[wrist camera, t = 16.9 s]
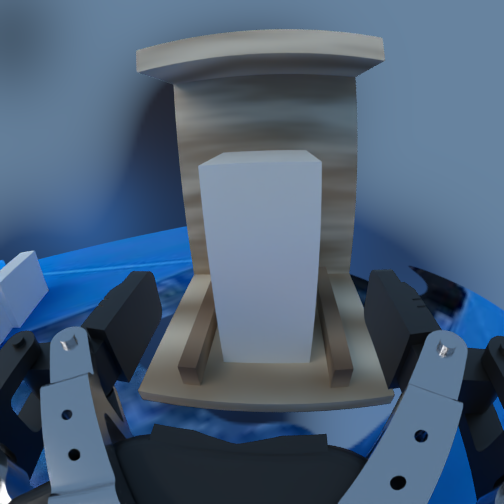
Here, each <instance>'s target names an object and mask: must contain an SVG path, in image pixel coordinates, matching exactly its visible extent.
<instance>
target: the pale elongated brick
mask: <svg viewBox="0 0 504 504" xmlns="http://www.w3.org/2000/svg"><path fill="white" fill-rule="evenodd" d="M198 170H199V180H200V190H201V200H202V210H203V219H204V227H205V236H206V244H207V252H208V260H209V268H210V275H211V282H212V290H213V297H214V303H215V310H216V317H217V323H218V330H219V336H220V342H221V348H222V354H223V360H224V362H236V363H310V356H311V347H312V338H313V329H314V319H315V308H316V296H317V283H318V268H319V251H320V229H321V193H322V162H321V161H320V160H319V159H317V158H316V157H315V156H313V155H312V154H311V153H309V152H308V151H307V150H266V151H241V152H225V153H222V154H220V155H218V156H216V157H214V158H212V159H210V160H208V161H206V162H205V163H203V164H201V165H199V166H198Z"/></svg>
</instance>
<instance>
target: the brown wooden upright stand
mask: <svg viewBox="0 0 504 504" xmlns="http://www.w3.org/2000/svg"><path fill="white" fill-rule="evenodd" d="M136 54H137V55H136V56H137V59H136V60H137V73H141V74H144V75H147V76H150V77H154V78H156V79H160V80H162V81H165V82H168V83H171V84H174V97H175V113H176V127H177V139H178V151H179V161H180V170H181V180H182V189H183V198H184V205H185V214H186V221H187V229H188V236H189V243H190V250H191V256H192V263H193V269H194V276H193V278H192V280H191V282H190V284H189V286H188V288H187V290H186V292H185V294H184V296H183V298H182V300H181V302H180V304H179V306H178V308H177V310H176V312H175V314H174V316H173V318H172V320H171V322H170V324H169V326H168V328H167V330H166V332H165V334H164V336H163V339H162V340H161V342H160V345H159V347H158V349H157V351H156V353H155V355H154V357H153V359H152V362H151V364H150V366H149V368H148V370H147V372H146V374H145V377H144V379H143V381H142V383H141V385H140V388H139V390H138V392H139V394H140V396H141V397H142V399H145V400H151V401H156V402H162V403H168V404H175V405H182V406H189V407H198V408H207V409H219V410H231V411H250V412H310V411H328V410H340V409H352V408H360V407H368V406H376V405H383V404H389V403H391V401H392V399H393V397H394V391H393V389H388V387H387V384H386V381H385V378H384V375H383V372H382V369H381V366H380V363H379V360H378V357H377V354H376V351H375V348H374V345H373V343H372V340H371V337H370V334H369V332H368V329H367V326H366V324H365V320H364V308H363V305H362V303H361V300H360V298H359V295H358V293H357V290H356V288H355V286H354V283H353V281H352V279H351V276H350V274H349V270H350V261H351V252H352V242H353V231H354V218H355V203H356V183H357V182H356V181H357V100H356V80H355V77H357V76H358V75H360V74H362V73H363V72H365V71H367V70H369V69H370V68H372V67H374V66H376V65H378V64H380V63H382V62H383V61H385V56H384V47H383V39H382V38H380V37H375V36H368V35H362V34H354V33H345V32H335V31H323V30H299V29H275V30H253V31H239V32H230V33H229V32H228V33H220V34H212V35H206V36H199V37H193V38H188V39H182V40H178V41H172V42H168V43H164V44H159V45H155V46H151V47H147V48H144V49H140V50H137V51H136ZM266 150H307V151H308V152H309V153H311V154H312V155H313V156H315V157H316V158H317V159H319V160H320V161H321V162H322V193H321V229H320V251H319V268H318V283H317V296H316V308H315V319H314V329H313V338H312V347H311V356H310V363H236V362H224V360H223V354H222V348H221V342H220V336H219V330H218V323H217V317H216V310H215V303H214V297H213V290H212V282H211V275H210V268H209V260H208V252H207V244H206V236H205V227H204V219H203V210H202V200H201V190H200V180H199V170H198V166H199V165H201V164H203V163H205V162H206V161H208V160H210V159H212V158H214V157H216V156H218V155H220V154H222V153H225V152H241V151H266Z"/></svg>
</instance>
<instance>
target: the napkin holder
mask: <svg viewBox="0 0 504 504" xmlns="http://www.w3.org/2000/svg"><path fill="white" fill-rule="evenodd" d="M48 291H49V290H48V287H47V285H46V282H45V279H44V277H43V274H42V271H41V268H40V265H39V262H38V259H37V256H36V253H35V251H28V252H22V253H20V254H19V255H18V256H17V257H15V258H14V259H13V260H12V261H10V262H9V263H8V264H7V265H6V266H5V267H4V268H2V269H1V270H0V345H1V343H2V342H3V340H4V339H5V338H6V336H7V335H8V333H9V332H10V331H11V329H12V328H20V327H21V326H22V324H23V323H24V322H25V320H26V319H27V318H28V316H29V315H30V314H31V312H32V311H33V310H34V308H35V307H36V306H37V305H38V303H39V302H40V301H41V300H42V298H43V297H44V296H45V295H46V293H47V292H48Z"/></svg>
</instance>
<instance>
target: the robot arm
mask: <svg viewBox="0 0 504 504" xmlns="http://www.w3.org/2000/svg"><path fill="white" fill-rule="evenodd" d="M98 305H99V306H97V307H96V308H95V309H94V311H93V312H92V313H91V314H90V315H89V317H88V318H87V319H86V320H85V322H84V323H83V324H82V325H81V327H69V328H66V329H64V330H62V331H60V332H59V333H57V334H56V335H55V336H54V338H53V339H52V341H51V342H48V343H38V341H37V340H36V338H35V336H34V334H33V333H32V332H31V331H21V332H19V333H17V334H15V335H13V336H12V337H11V338H10V339H9V340H8V341H7V342H6V344H5V345H4V346H3V347H2V349H1V350H0V504H427V503H428V501H429V499H430V497H431V495H432V493H433V491H434V489H435V487H436V484H437V482H438V480H439V477H440V475H441V473H442V470H443V468H444V465H445V463H446V460H447V457H448V455H449V452H450V449H451V446H452V443H453V440H454V437H455V434H456V431H457V427H458V426H459V429H460V432H461V436H462V439H463V442H464V446H465V449H466V453H467V457H468V461H469V465H470V469H471V473H472V478H473V482H474V487H475V492H476V498H477V502H476V504H504V431H503V428H502V426H501V423H500V420H499V418H498V415H497V413H496V411H495V408H494V406H493V402H494V401H495V400H496V398H497V397H499V400H500V402H501V404H502V406H503V409H504V336H496V337H493V338H492V339H491V340H490V341H489V343H488V345H487V347H486V349H475V348H467V345H466V343H465V342H464V340H463V339H462V338H461V337H460V336H458V335H457V334H455V333H453V332H450V331H446V330H441V328H440V326H439V325H438V323H437V322H436V320H435V319H434V317H433V316H432V314H431V312H430V311H429V309H428V308H427V307H426V305H425V303H424V302H423V301H422V300H421V298H420V296H419V295H418V293H417V292H416V290H415V289H413V288H412V287H411V286H409V285H408V284H407V283H405V282H400V280H399V279H398V277H397V276H396V274H395V273H394V271H393V270H391V269H390V270H372V271H371V273H370V277H369V283H368V289H367V294H366V300H365V305H364V320H365V324H366V326H367V329H368V332H369V334H370V337H371V340H372V343H373V345H374V348H375V351H376V354H377V357H378V360H379V363H380V366H381V369H382V372H383V375H384V378H385V381H386V384H387V387H388V389H394V388H400V389H401V392H402V394H401V395H400V397H399V399H398V401H397V403H396V405H395V407H394V409H393V411H392V413H391V415H390V417H389V419H388V420H387V422H386V424H385V426H384V428H383V430H382V431H381V433H380V435H379V436H378V438H377V440H376V442H375V443H374V445H373V446H372V448H371V449H370V451H369V453H368V454H367V456H366V457H363V456H361V455H359V454H357V453H355V452H353V451H350V450H347V449H344V448H341V447H336V446H332V445H327V435H326V434H318V435H297V436H279V437H275V438H270V439H264V440H259V441H253V442H247V443H241V444H234V443H230V442H226V441H223V440H220V439H217V438H214V437H211V436H208V435H205V434H202V433H200V432H197V431H194V430H188V429H182V428H175V427H169V426H164V425H158V424H154V427H153V430H152V432H151V434H147V435H139V436H135V437H134V436H133V435H132V433H131V431H130V428H129V426H128V423H127V420H126V418H125V415H124V412H123V409H122V406H121V403H120V400H119V397H118V393H117V390H116V388H115V387H114V384H115V382H116V380H118V381H123V382H128V383H129V382H130V380H131V378H132V376H133V374H134V372H135V370H136V367H137V365H138V363H139V361H140V359H141V358H142V355H143V354H144V352H145V349H146V348H147V346H148V344H149V342H150V340H151V338H152V336H153V334H154V332H155V330H156V328H157V326H158V325H159V322H160V320H161V316H162V307H161V302H160V299H159V295H158V291H157V287H156V282H155V278H154V275H153V273H152V272H150V271H132V272H131V273H130V274H129V275H128V276H127V278H126V279H125V280H124V281H123V282H122V283H121V284H119V285H118V286H116V287H115V288H113V289H112V290H110V291H109V293H108V294H107V295H106V296H105V297H104V300H102V301H101V302H100V303H99V304H98ZM22 380H24V381H25V383H26V384H27V385H28V387H29V388H30V390H31V391H32V392H31V394H30V395H29V397H28V399H27V401H26V402H25V404H24V406H23V407H22V409H21V411H20V413H19V414H18V416H17V414H16V413H15V412H14V411H13V409H12V407H11V399H12V396H13V395H14V393H15V391H16V390H17V388H18V387H19V385H20V384H21V382H22ZM43 448H44V449H45V456H46V462H47V468H48V474H49V479H50V481H48V482H46V483H44V484H42V485H40V486H38V487H36V488H34V487H32V486H31V485H30V479H31V476H32V474H33V471H34V469H35V466H36V464H37V461H38V459H39V457H40V454H41V452H42V450H43Z"/></svg>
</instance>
